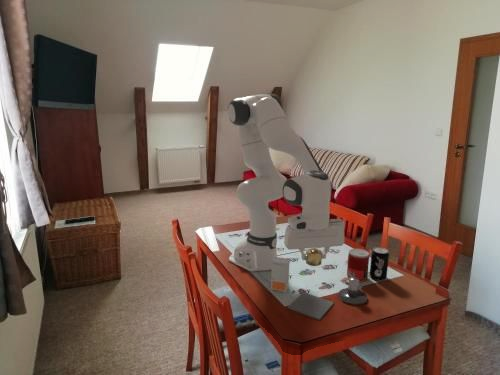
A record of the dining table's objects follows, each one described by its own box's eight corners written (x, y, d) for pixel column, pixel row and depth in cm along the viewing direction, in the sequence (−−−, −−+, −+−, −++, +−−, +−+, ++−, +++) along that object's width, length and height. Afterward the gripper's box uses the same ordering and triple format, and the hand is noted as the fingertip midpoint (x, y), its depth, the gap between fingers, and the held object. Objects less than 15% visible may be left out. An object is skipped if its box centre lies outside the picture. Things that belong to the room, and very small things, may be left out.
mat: (287, 308, 129) (287, 306, 129) (303, 293, 138) (303, 292, 138) (319, 320, 122) (319, 318, 122) (333, 303, 132) (333, 302, 131)
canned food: (368, 282, 146) (370, 257, 144) (347, 280, 148) (349, 255, 145) (366, 273, 154) (368, 249, 151) (346, 271, 155) (348, 247, 152)
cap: (303, 259, 128) (304, 248, 127) (318, 258, 129) (318, 247, 128) (308, 266, 123) (309, 254, 122) (323, 265, 124) (324, 253, 123)
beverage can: (368, 279, 149) (371, 251, 146) (370, 272, 155) (372, 245, 152) (386, 282, 147) (389, 254, 144) (386, 275, 153) (389, 248, 150)
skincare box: (270, 289, 141) (271, 260, 138) (273, 284, 145) (274, 256, 142) (286, 292, 139) (287, 263, 136) (288, 287, 143) (290, 258, 140)
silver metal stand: (334, 299, 135) (335, 280, 133) (344, 287, 142) (345, 269, 141) (361, 308, 129) (363, 288, 127) (370, 295, 137) (372, 277, 135)
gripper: (341, 215, 127) (338, 252, 130) (283, 218, 123) (282, 257, 127) (349, 221, 121) (346, 260, 124) (288, 225, 117) (287, 265, 121)
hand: (313, 258), depth 125 cm, fingers closed on cap, 5 cm apart
